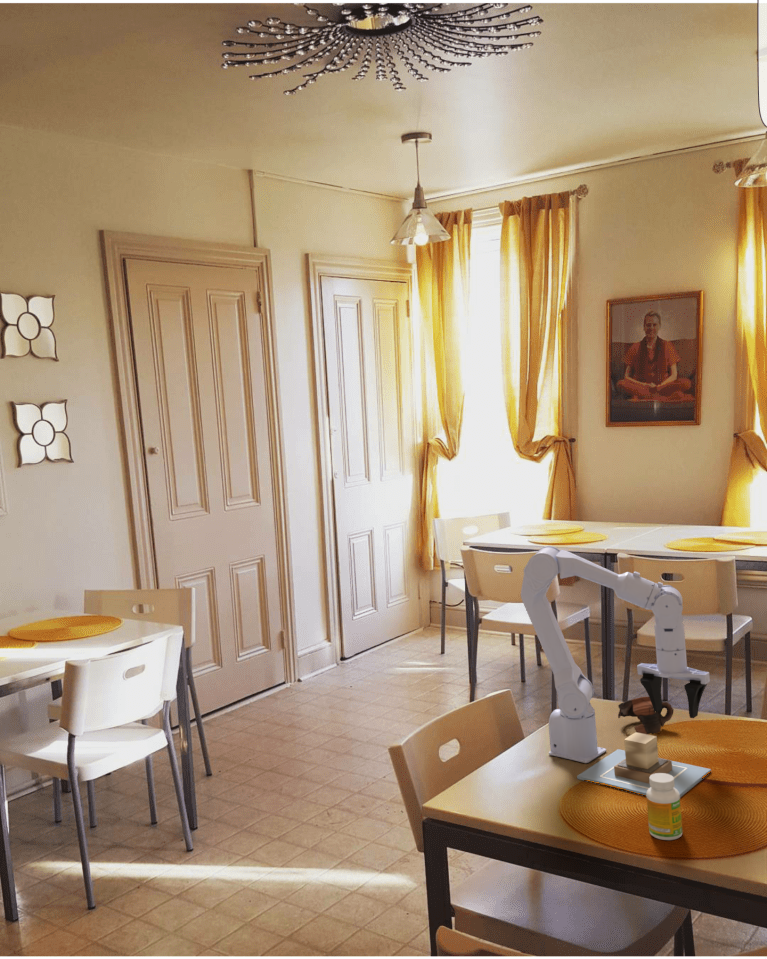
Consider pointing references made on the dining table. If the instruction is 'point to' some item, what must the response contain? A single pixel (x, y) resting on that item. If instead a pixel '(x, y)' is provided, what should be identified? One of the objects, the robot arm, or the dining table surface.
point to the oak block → (641, 750)
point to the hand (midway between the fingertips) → (675, 713)
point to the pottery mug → (645, 714)
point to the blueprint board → (620, 755)
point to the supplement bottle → (664, 807)
